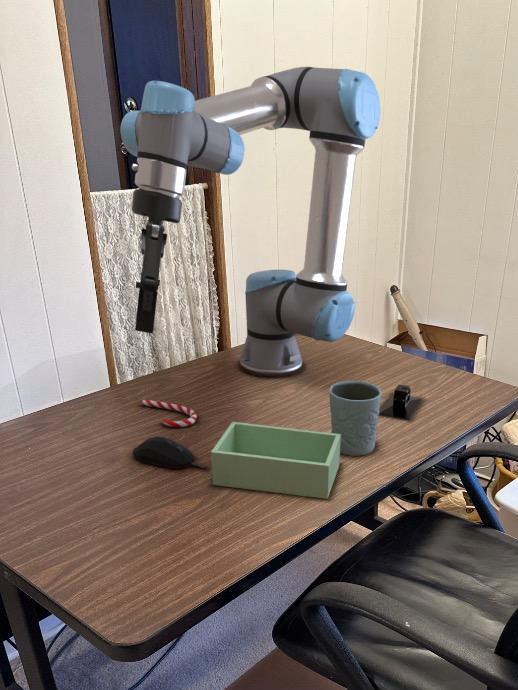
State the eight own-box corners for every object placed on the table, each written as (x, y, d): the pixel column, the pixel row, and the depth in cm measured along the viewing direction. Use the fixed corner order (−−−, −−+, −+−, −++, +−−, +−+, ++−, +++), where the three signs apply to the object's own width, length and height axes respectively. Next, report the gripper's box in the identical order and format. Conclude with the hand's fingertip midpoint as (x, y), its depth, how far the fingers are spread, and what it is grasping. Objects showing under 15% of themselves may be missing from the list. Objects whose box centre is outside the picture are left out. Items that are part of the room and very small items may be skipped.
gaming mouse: (196, 476, 124) (195, 457, 122) (126, 459, 128) (123, 439, 126) (214, 461, 129) (213, 442, 127) (146, 445, 133) (144, 426, 131)
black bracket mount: (409, 420, 151) (411, 401, 149) (377, 414, 153) (378, 395, 150) (421, 399, 161) (423, 380, 159) (391, 394, 163) (393, 375, 160)
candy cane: (154, 394, 150) (205, 413, 144) (154, 400, 151) (206, 419, 144) (125, 405, 144) (178, 425, 138) (126, 411, 145) (178, 431, 139)
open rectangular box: (233, 452, 133) (232, 421, 129) (339, 465, 131) (340, 434, 128) (212, 485, 122) (210, 451, 118) (327, 499, 121) (329, 465, 117)
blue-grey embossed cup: (368, 461, 133) (372, 404, 127) (319, 451, 136) (321, 394, 129) (383, 440, 142) (387, 385, 136) (336, 430, 144) (339, 376, 138)
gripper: (134, 190, 120) (122, 314, 126) (132, 181, 98) (117, 332, 104) (179, 201, 123) (164, 322, 129) (187, 195, 101) (169, 341, 107)
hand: (143, 326), depth 117 cm, fingers open, 13 cm apart
